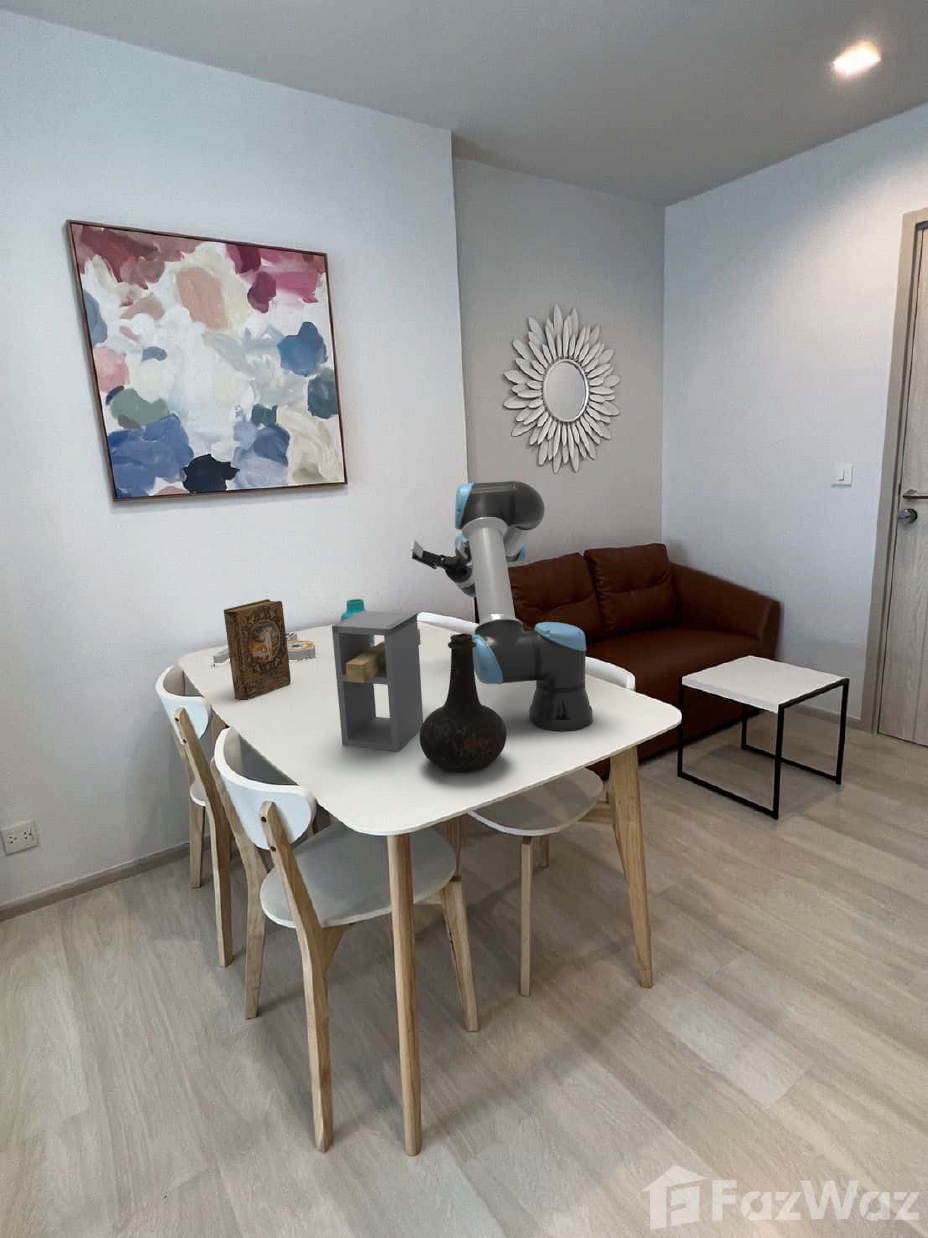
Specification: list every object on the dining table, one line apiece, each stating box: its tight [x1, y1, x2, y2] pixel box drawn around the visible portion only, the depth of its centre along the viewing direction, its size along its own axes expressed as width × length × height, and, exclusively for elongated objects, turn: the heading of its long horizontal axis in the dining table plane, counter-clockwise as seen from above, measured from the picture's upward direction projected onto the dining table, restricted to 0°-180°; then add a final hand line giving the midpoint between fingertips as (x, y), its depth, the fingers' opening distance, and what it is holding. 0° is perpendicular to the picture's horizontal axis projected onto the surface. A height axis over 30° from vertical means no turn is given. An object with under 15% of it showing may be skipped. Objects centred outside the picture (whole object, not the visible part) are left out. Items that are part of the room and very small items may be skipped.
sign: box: [212, 631, 317, 664], centre depth 225 cm, size 30×4×30 cm
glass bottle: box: [419, 632, 508, 774], centre depth 137 cm, size 18×18×28 cm
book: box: [223, 598, 292, 701], centre depth 187 cm, size 16×6×25 cm, turn 145°
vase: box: [340, 598, 376, 648], centre depth 215 cm, size 11×11×19 cm
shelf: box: [331, 610, 424, 753], centre depth 153 cm, size 14×14×28 cm
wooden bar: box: [346, 628, 421, 683], centre depth 155 cm, size 30×4×4 cm, turn 160°
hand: (435, 544), depth 180 cm, fingers open, 13 cm apart
